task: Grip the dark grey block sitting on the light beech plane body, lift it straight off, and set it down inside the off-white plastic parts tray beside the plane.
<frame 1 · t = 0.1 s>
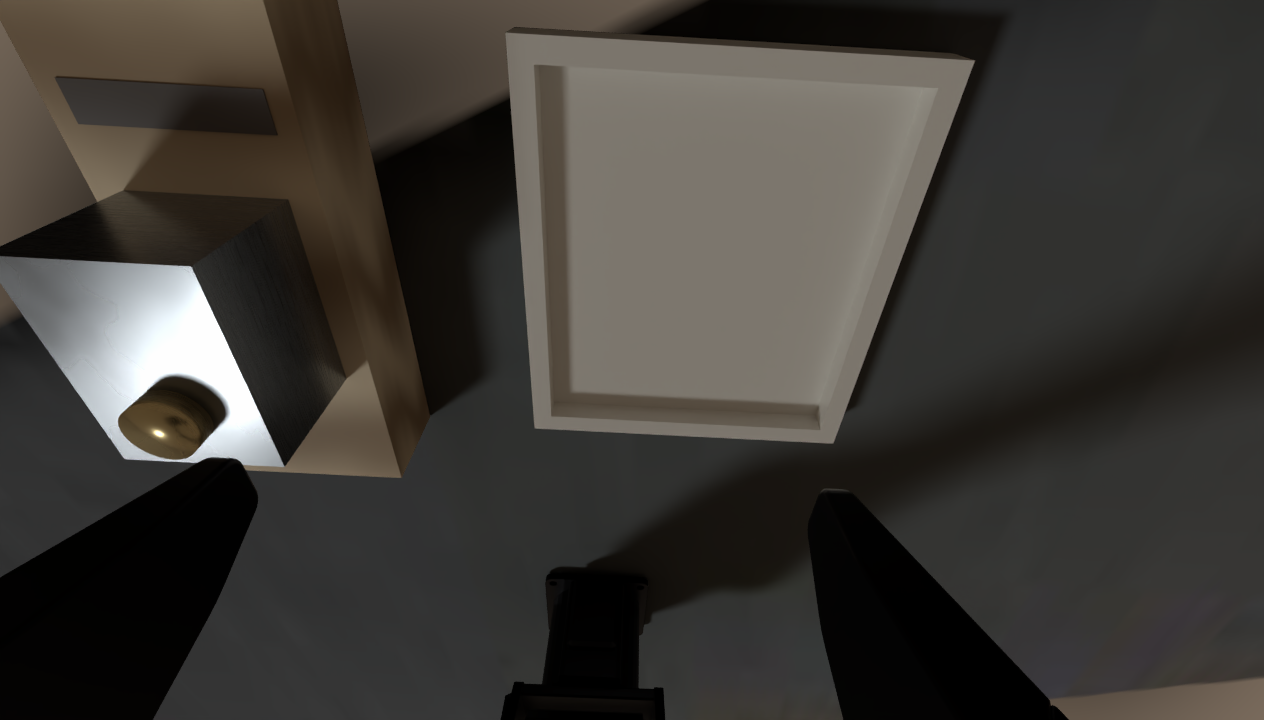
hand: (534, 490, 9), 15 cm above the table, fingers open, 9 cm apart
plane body: (305, 245, 22), on the table
parts tray: (703, 266, 22), on the table
dark grey block: (247, 294, 19), point 4 cm above the table, touching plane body
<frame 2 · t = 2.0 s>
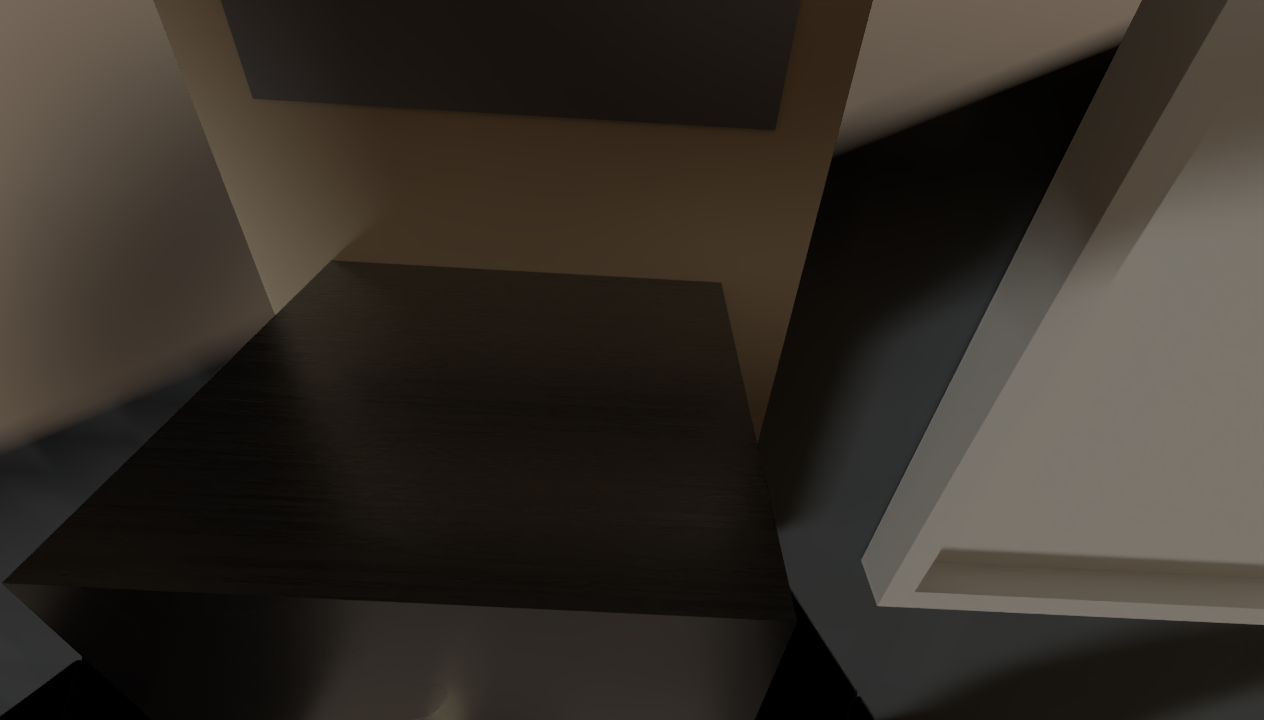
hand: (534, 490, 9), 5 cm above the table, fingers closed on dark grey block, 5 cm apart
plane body: (567, 329, 12), on the table
dark grey block: (539, 461, 9), point 4 cm above the table, touching gripper, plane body
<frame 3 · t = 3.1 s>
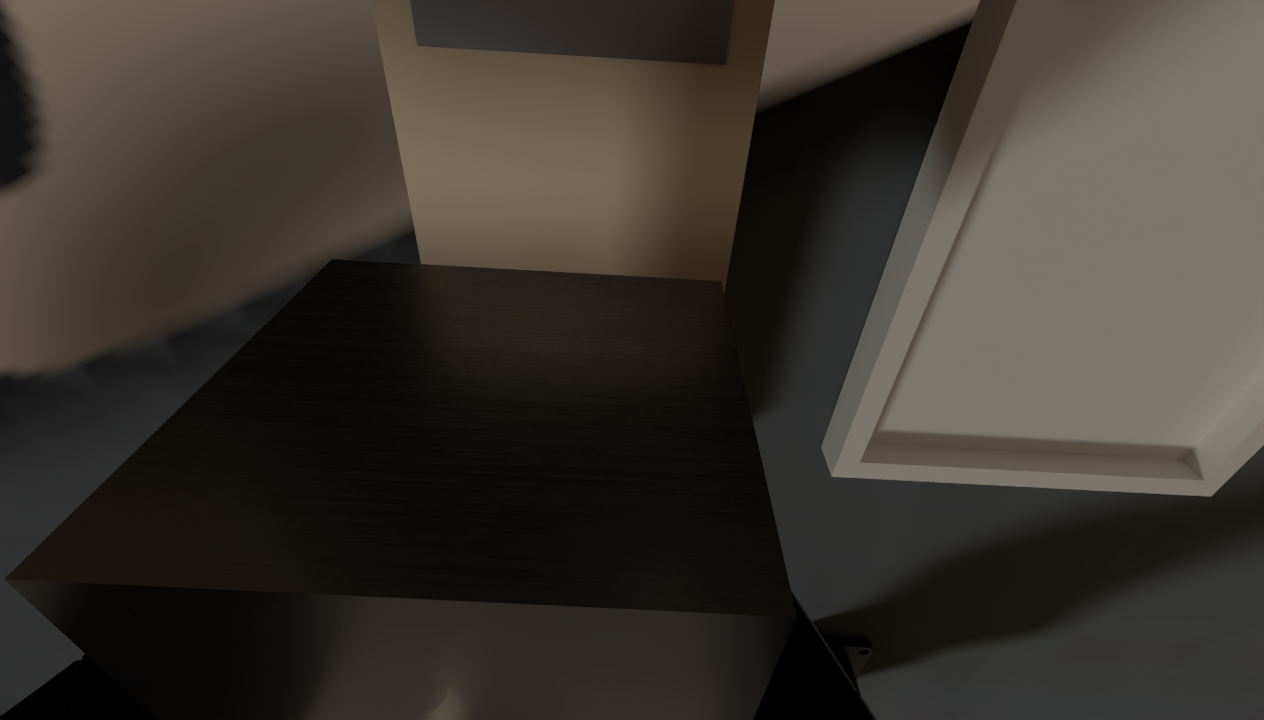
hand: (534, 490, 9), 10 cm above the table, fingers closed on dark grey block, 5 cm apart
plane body: (588, 239, 17), on the table
parts tray: (1119, 270, 17), on the table
dark grey block: (540, 459, 9), point 9 cm above the table, touching gripper
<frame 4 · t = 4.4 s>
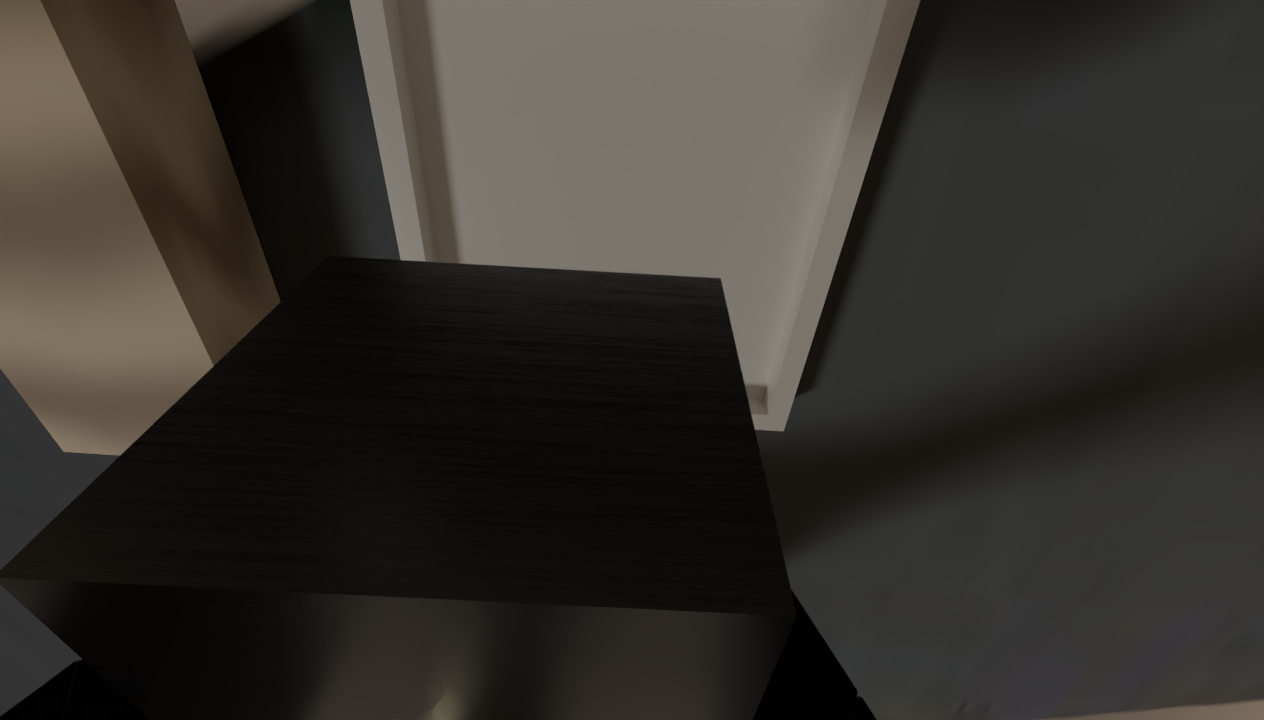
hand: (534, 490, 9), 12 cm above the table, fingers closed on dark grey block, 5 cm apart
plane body: (129, 173, 18), on the table
parts tray: (620, 210, 18), on the table
dark grey block: (538, 458, 9), point 11 cm above the table, touching gripper
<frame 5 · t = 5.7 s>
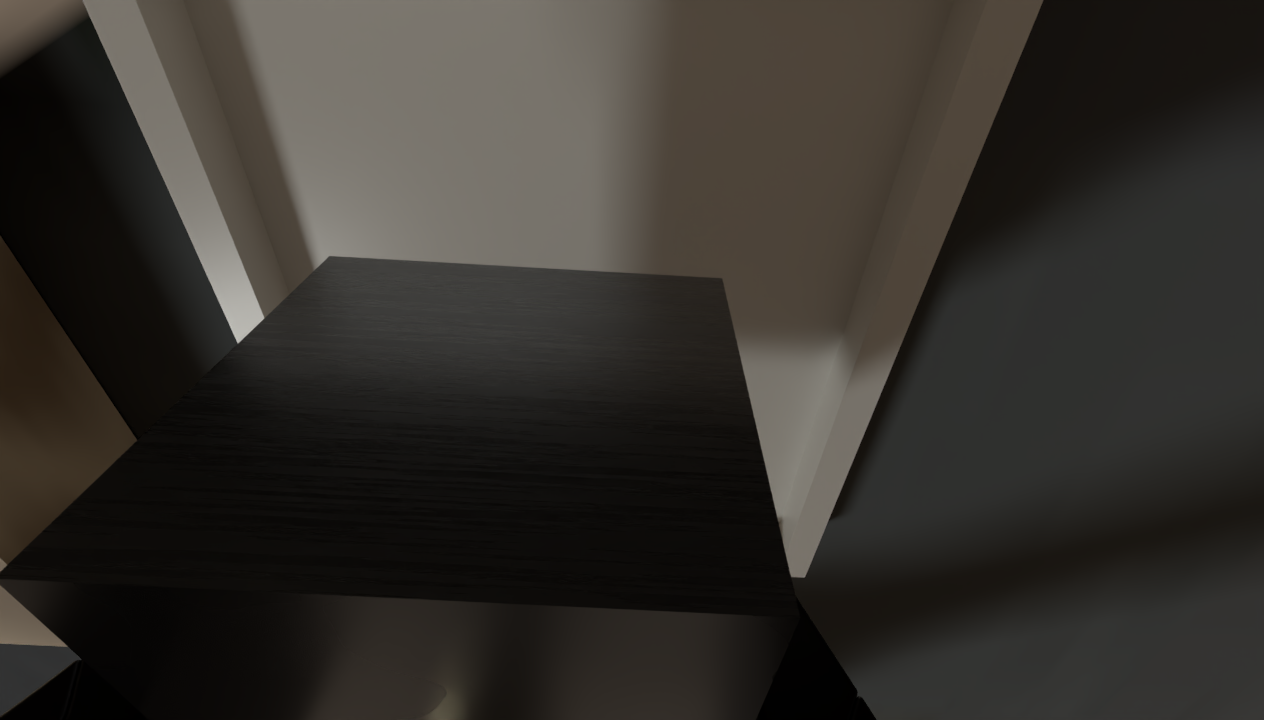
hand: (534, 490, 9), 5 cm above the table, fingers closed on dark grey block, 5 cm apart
parts tray: (572, 308, 13), on the table
dark grey block: (539, 458, 9), point 5 cm above the table, touching gripper
when the fingers open (3 cm above the table, at t = 6.6 s): dark grey block drops 2 cm, resting on parts tray.
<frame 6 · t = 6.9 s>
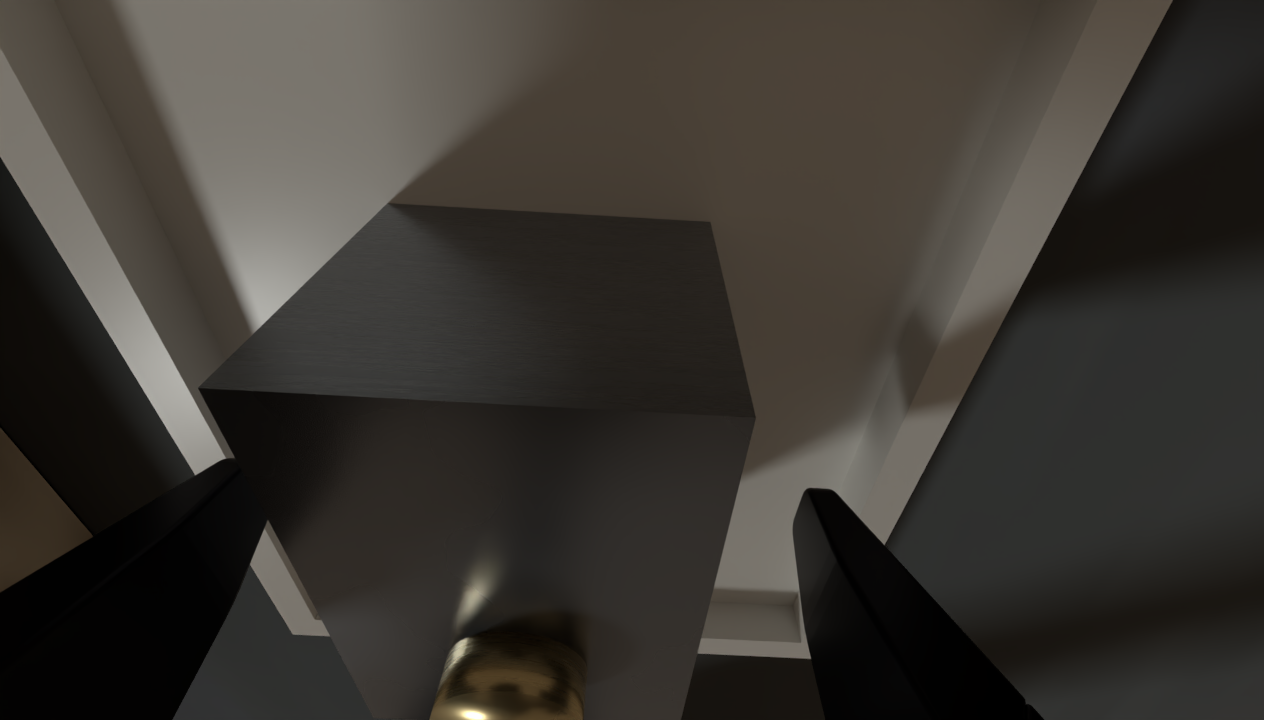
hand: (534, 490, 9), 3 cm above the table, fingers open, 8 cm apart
parts tray: (558, 372, 11), on the table
dark grey block: (556, 387, 11), resting on parts tray
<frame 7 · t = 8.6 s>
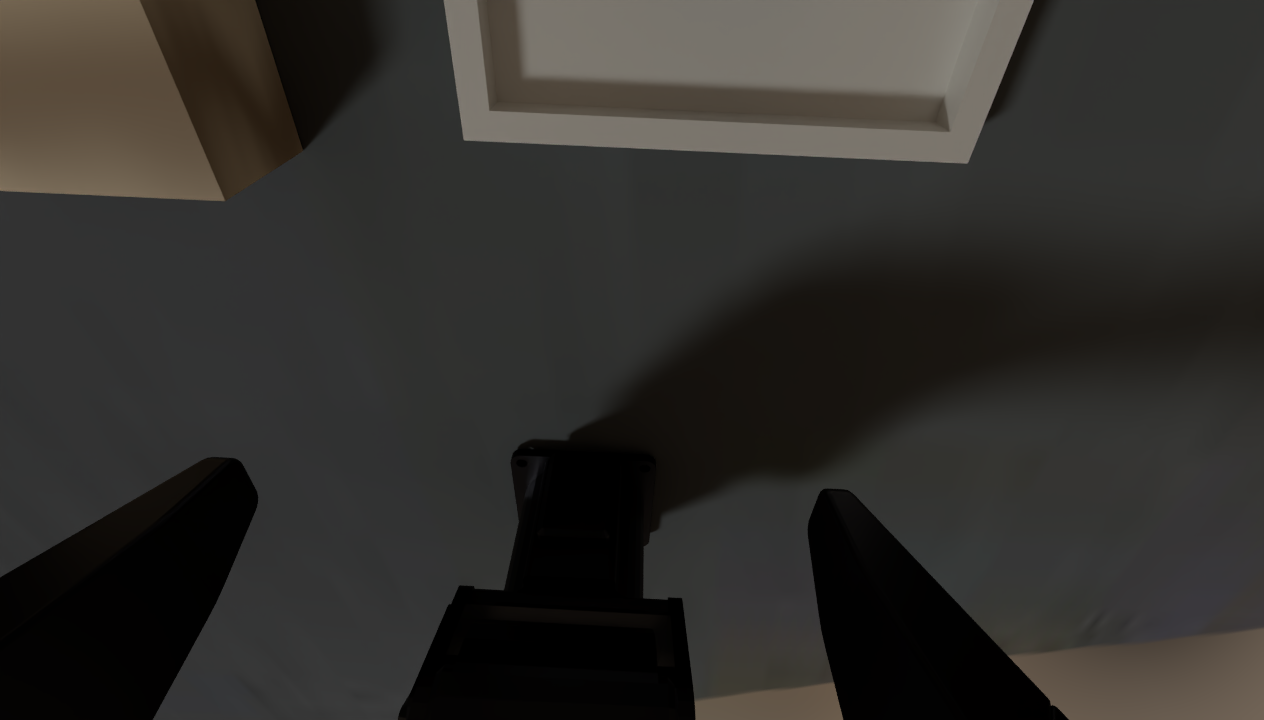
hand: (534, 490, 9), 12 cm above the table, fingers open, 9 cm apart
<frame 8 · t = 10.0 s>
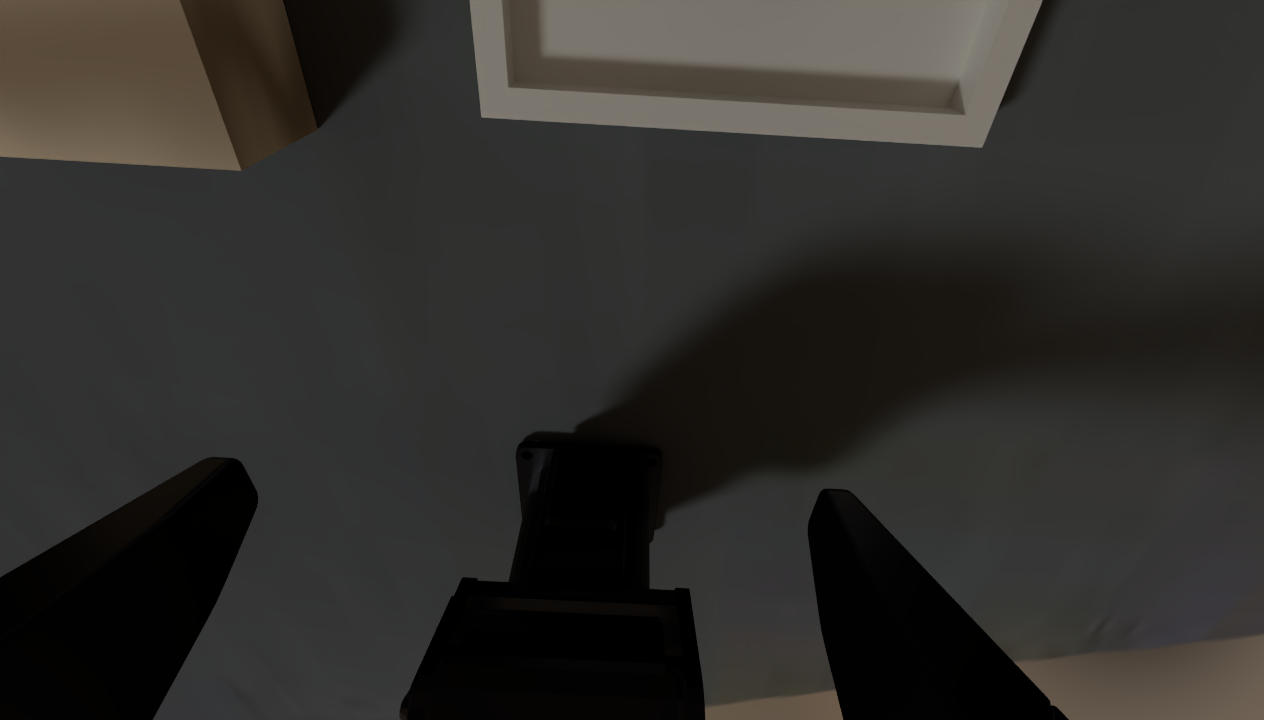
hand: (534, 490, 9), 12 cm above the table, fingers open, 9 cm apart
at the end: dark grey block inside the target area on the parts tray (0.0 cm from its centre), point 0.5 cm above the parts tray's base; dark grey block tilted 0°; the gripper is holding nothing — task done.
